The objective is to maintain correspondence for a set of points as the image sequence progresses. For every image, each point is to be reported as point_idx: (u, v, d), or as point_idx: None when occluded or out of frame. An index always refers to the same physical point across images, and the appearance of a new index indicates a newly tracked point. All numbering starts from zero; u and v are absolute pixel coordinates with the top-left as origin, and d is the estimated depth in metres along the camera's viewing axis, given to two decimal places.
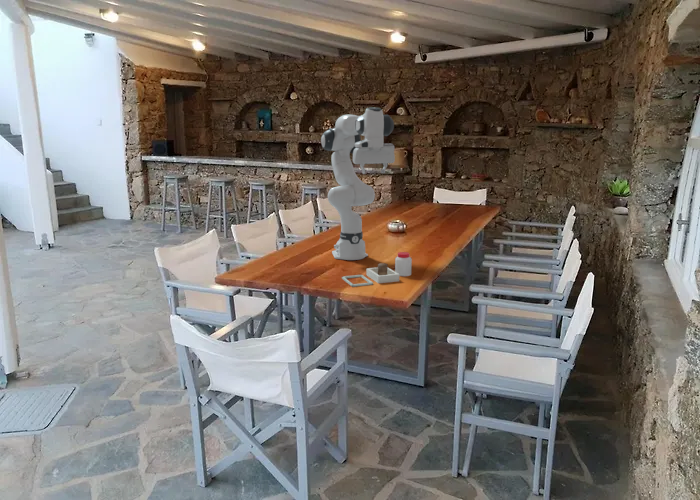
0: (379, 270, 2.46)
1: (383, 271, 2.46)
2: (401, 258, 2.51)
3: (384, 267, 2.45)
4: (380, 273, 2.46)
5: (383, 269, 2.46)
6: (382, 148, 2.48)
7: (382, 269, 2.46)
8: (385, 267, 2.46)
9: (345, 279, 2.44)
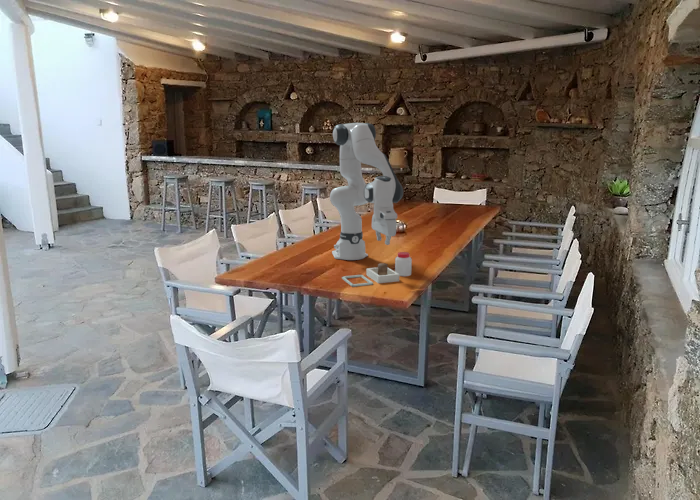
0: (379, 270, 2.46)
1: (383, 271, 2.46)
2: (401, 258, 2.51)
3: (384, 267, 2.45)
4: (380, 273, 2.46)
5: (383, 269, 2.46)
6: None
7: (382, 269, 2.46)
8: (385, 267, 2.46)
9: (345, 279, 2.44)
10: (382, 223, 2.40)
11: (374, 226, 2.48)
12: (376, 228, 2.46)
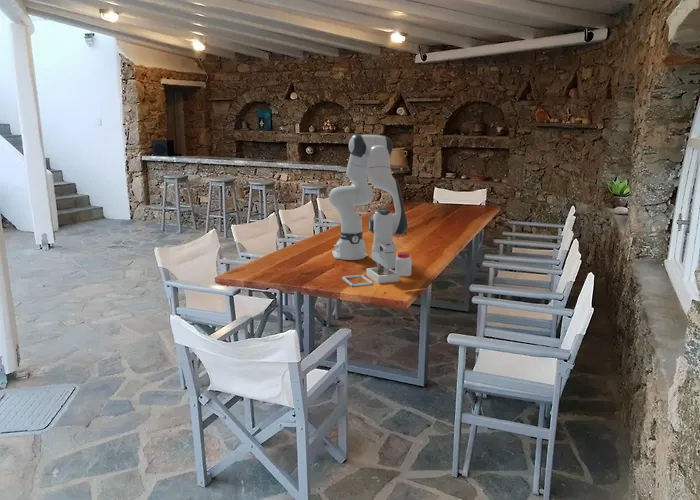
0: (379, 270, 2.46)
1: None
2: (401, 258, 2.51)
3: None
4: (380, 273, 2.46)
5: (383, 269, 2.46)
6: None
7: (382, 269, 2.46)
8: None
9: (345, 279, 2.44)
10: (382, 255, 2.43)
11: (374, 257, 2.51)
12: (376, 259, 2.50)
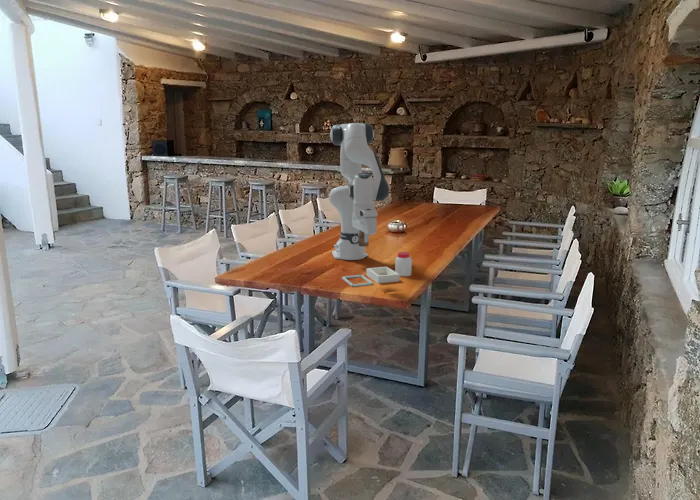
0: (360, 237, 2.38)
1: None
2: (401, 258, 2.51)
3: None
4: (361, 240, 2.38)
5: None
6: None
7: (363, 236, 2.37)
8: None
9: (345, 279, 2.44)
10: (362, 221, 2.35)
11: (355, 225, 2.43)
12: (356, 226, 2.41)
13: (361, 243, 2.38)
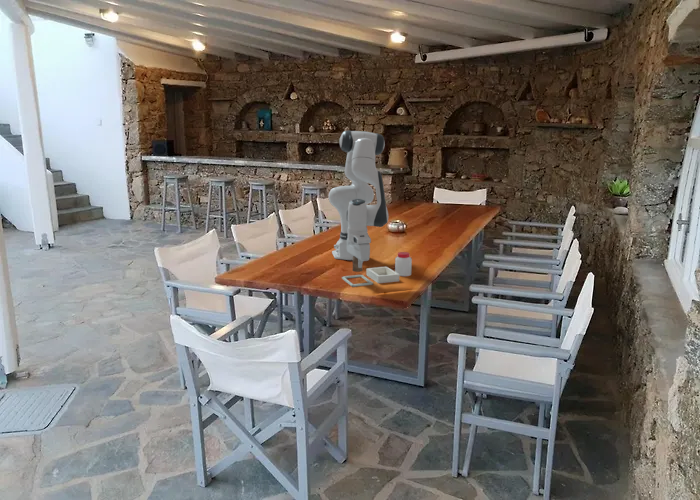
0: (354, 262, 2.40)
1: None
2: (401, 258, 2.51)
3: None
4: (355, 265, 2.40)
5: None
6: None
7: (357, 261, 2.39)
8: None
9: (345, 279, 2.44)
10: (356, 247, 2.37)
11: (349, 249, 2.45)
12: (350, 251, 2.43)
13: (355, 268, 2.40)
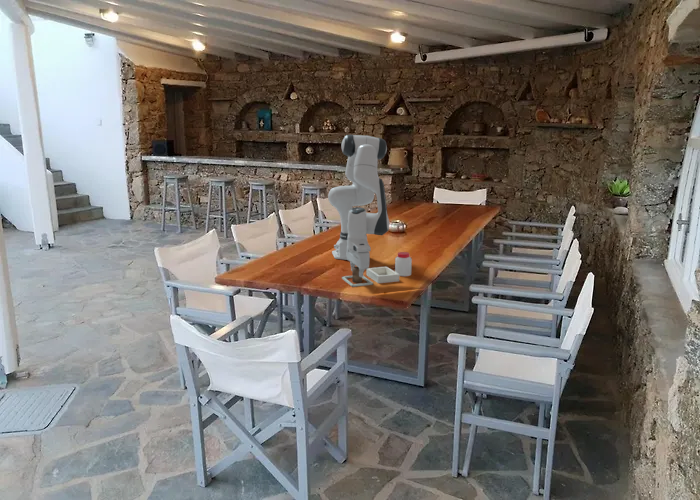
0: (353, 274, 2.41)
1: (357, 275, 2.41)
2: (401, 258, 2.51)
3: (358, 270, 2.40)
4: (354, 277, 2.41)
5: (357, 273, 2.41)
6: None
7: (356, 273, 2.41)
8: None
9: (345, 279, 2.44)
10: (356, 255, 2.38)
11: (349, 257, 2.46)
12: (350, 259, 2.44)
13: (354, 280, 2.42)
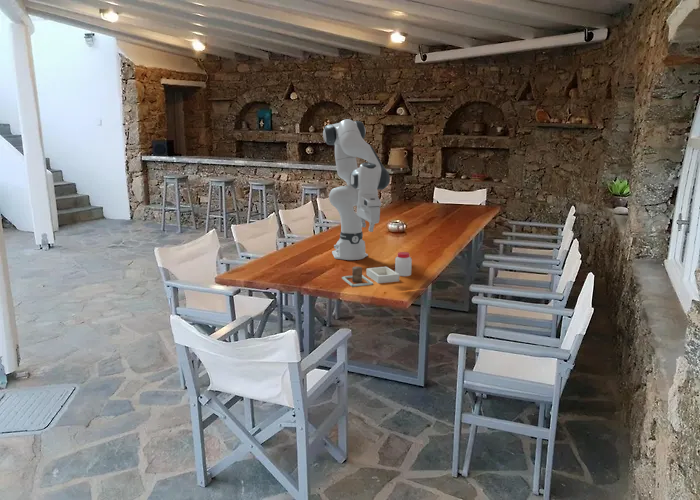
0: (353, 274, 2.41)
1: (358, 275, 2.41)
2: (401, 258, 2.51)
3: (358, 271, 2.40)
4: (354, 277, 2.41)
5: (357, 273, 2.40)
6: None
7: (356, 273, 2.40)
8: (360, 271, 2.41)
9: (345, 279, 2.44)
10: (366, 210, 2.40)
11: (359, 213, 2.48)
12: (360, 215, 2.46)
13: (355, 280, 2.42)
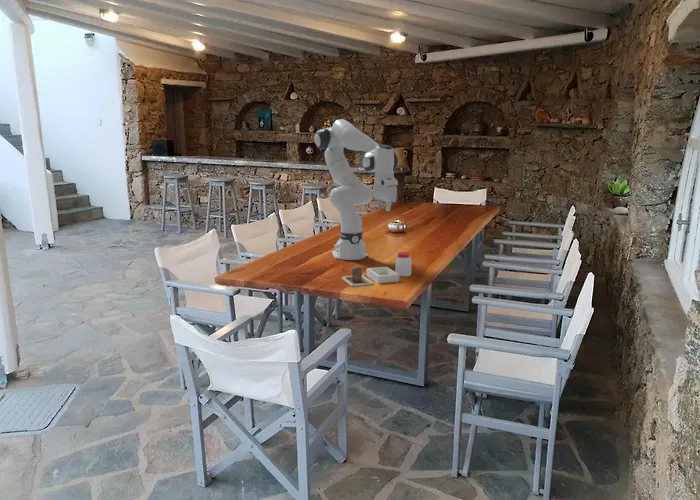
0: (353, 273, 2.41)
1: (358, 274, 2.41)
2: (401, 258, 2.51)
3: (358, 270, 2.41)
4: (355, 276, 2.41)
5: (357, 272, 2.41)
6: None
7: (356, 272, 2.41)
8: (359, 270, 2.41)
9: (345, 279, 2.44)
10: (383, 190, 2.48)
11: (375, 194, 2.56)
12: (377, 196, 2.55)
13: (355, 279, 2.41)
